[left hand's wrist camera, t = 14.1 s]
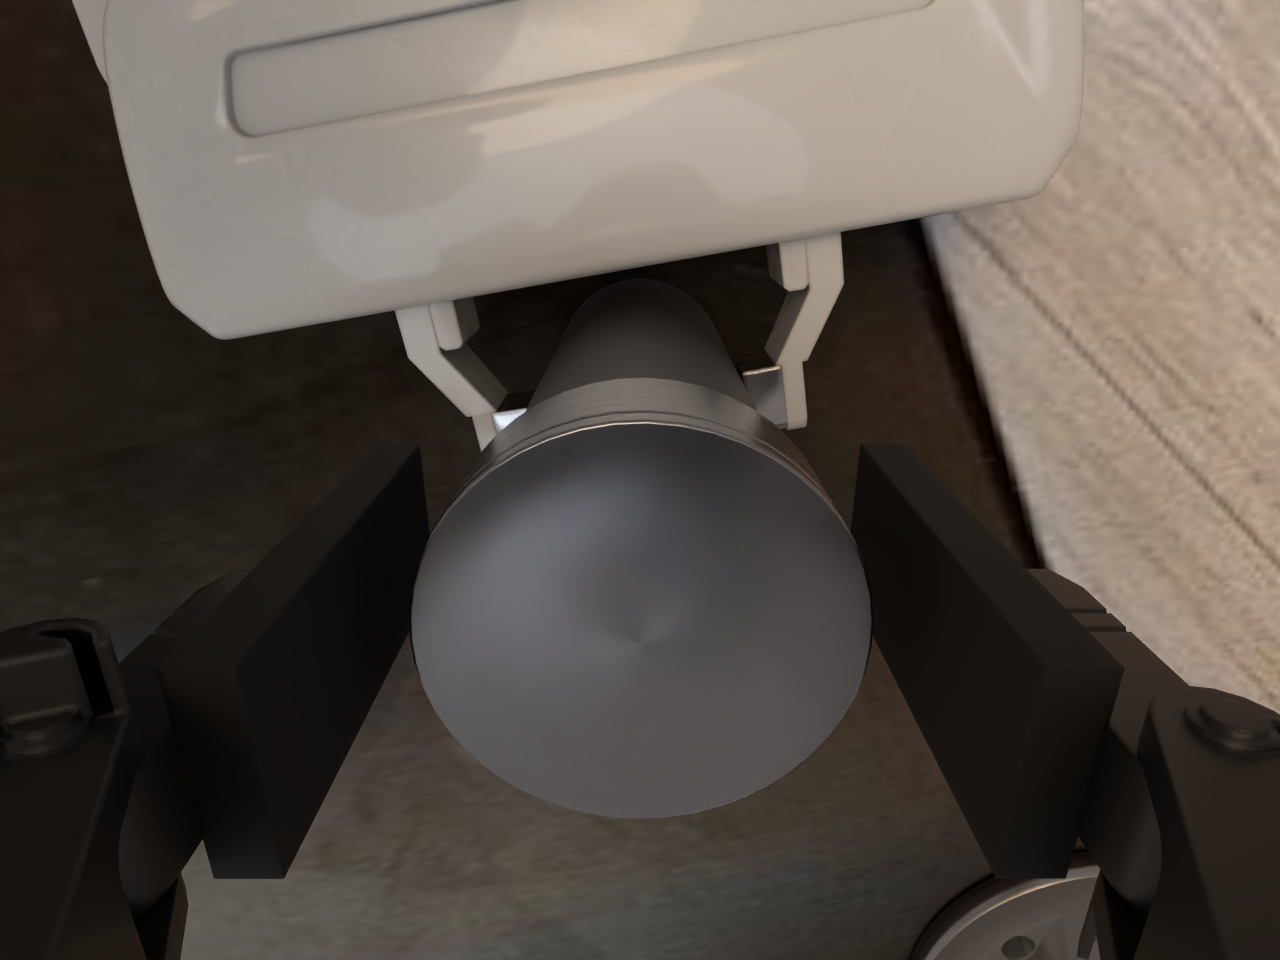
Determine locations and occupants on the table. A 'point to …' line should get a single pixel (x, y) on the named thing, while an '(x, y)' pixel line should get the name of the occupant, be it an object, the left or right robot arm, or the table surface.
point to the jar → (641, 342)
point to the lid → (641, 603)
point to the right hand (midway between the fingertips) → (648, 446)
